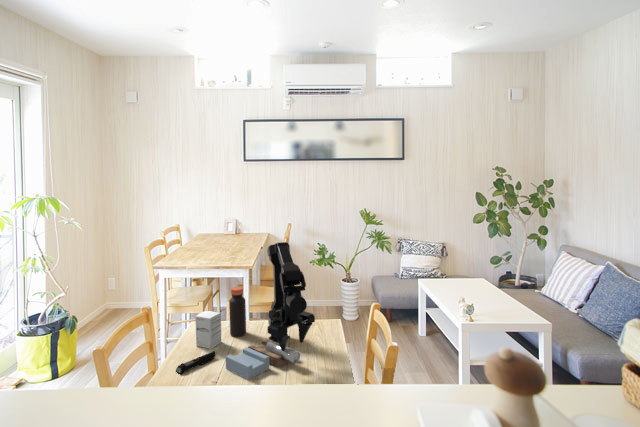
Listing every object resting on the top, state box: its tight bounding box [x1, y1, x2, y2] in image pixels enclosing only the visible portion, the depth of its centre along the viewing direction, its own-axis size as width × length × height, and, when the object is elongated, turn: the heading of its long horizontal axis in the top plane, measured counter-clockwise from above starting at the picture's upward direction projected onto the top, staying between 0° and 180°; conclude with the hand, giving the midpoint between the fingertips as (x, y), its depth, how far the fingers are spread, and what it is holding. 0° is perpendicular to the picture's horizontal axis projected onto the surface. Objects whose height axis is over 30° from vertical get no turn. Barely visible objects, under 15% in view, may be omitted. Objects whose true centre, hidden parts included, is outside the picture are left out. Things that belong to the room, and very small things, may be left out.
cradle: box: [225, 346, 270, 380], centre depth 143 cm, size 12×10×4 cm
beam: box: [247, 338, 295, 368], centre depth 151 cm, size 16×9×4 cm, turn 50°
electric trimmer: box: [175, 350, 216, 376], centre depth 146 cm, size 4×16×3 cm, turn 141°
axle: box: [265, 340, 301, 364], centre depth 147 cm, size 14×4×4 cm, turn 50°
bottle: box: [228, 286, 247, 338], centre depth 172 cm, size 7×7×20 cm
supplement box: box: [195, 310, 222, 349], centre depth 163 cm, size 7×7×13 cm
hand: (292, 346), depth 144 cm, fingers open, 9 cm apart
